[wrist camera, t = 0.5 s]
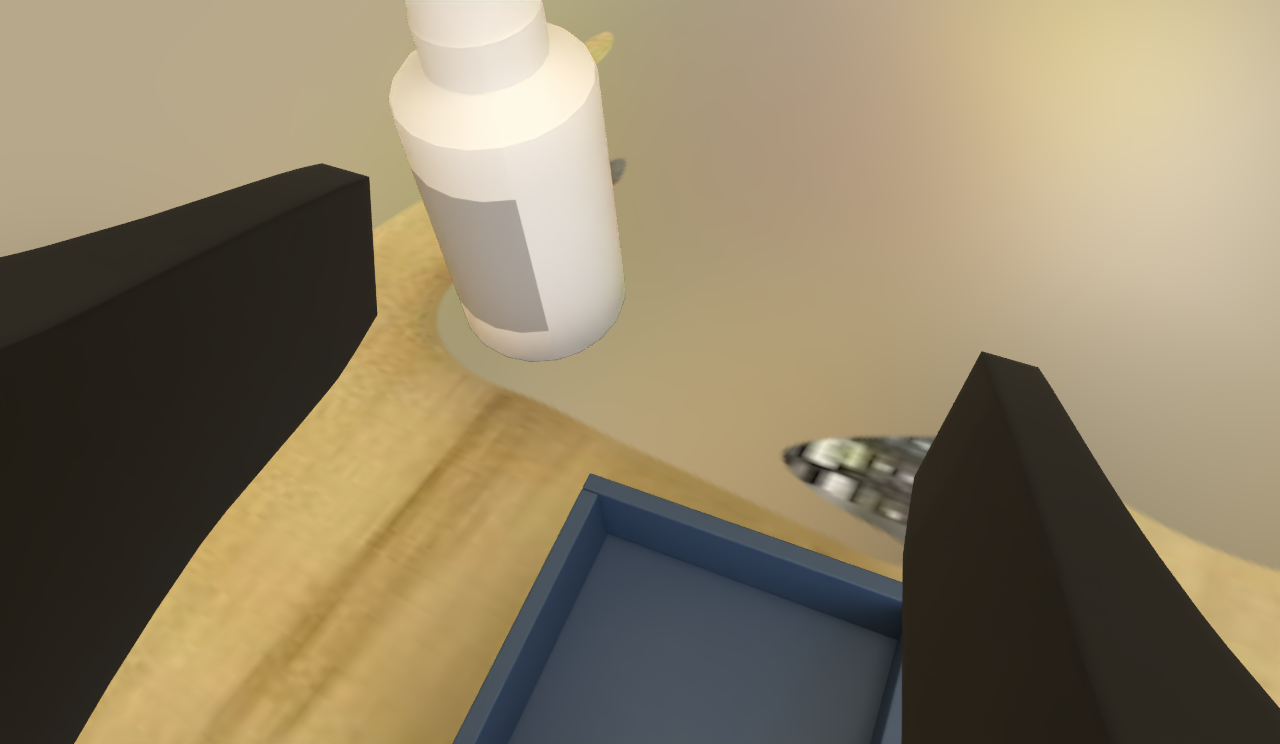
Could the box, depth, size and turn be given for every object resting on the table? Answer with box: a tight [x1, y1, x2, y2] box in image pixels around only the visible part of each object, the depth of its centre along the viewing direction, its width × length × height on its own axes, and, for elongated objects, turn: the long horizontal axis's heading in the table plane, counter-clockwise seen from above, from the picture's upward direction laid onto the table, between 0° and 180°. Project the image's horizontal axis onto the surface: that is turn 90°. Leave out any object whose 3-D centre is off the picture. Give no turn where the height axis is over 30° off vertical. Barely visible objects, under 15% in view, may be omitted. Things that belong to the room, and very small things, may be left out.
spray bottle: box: [389, 0, 625, 362], centre depth 30 cm, size 7×7×18 cm
